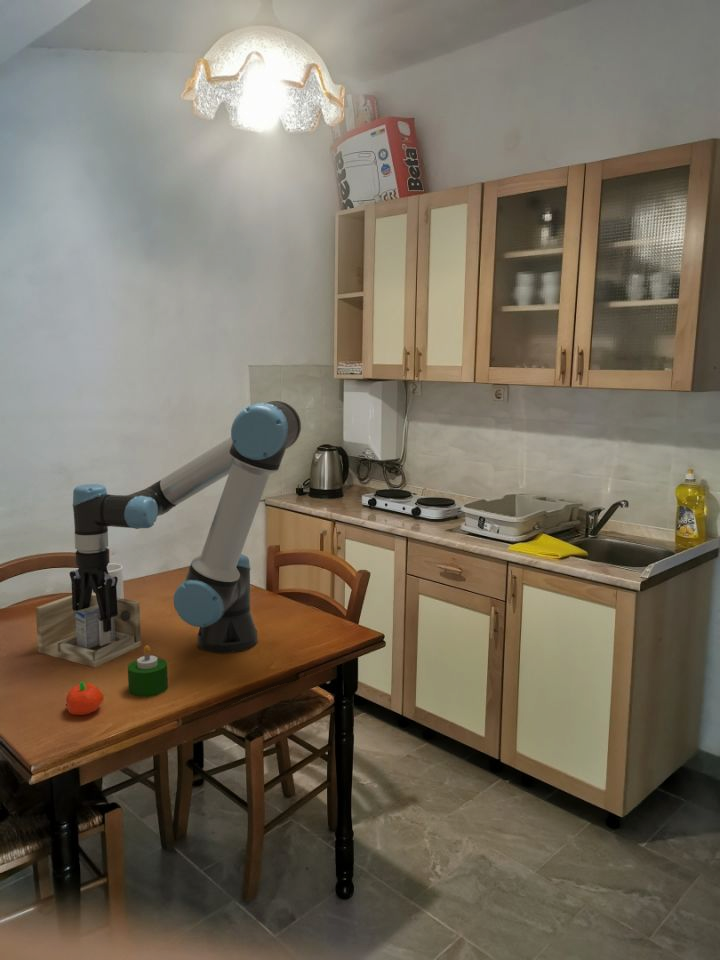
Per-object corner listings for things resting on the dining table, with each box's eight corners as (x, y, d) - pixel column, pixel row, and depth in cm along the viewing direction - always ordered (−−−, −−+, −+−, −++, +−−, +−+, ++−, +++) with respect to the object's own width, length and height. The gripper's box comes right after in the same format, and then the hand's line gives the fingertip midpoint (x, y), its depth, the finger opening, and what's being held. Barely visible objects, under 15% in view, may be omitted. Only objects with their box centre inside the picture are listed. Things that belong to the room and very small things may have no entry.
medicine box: (105, 636, 185) (103, 602, 184) (115, 640, 183) (114, 606, 181) (76, 645, 179) (74, 610, 178) (86, 649, 177) (84, 614, 175)
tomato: (74, 725, 147) (68, 696, 145) (63, 710, 153) (58, 682, 152) (110, 711, 151) (104, 683, 149) (98, 697, 157) (93, 669, 156)
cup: (114, 630, 196) (112, 572, 194) (86, 628, 198) (83, 570, 195) (130, 620, 204) (128, 564, 202) (103, 617, 206) (100, 562, 203)
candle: (175, 688, 163) (174, 645, 161) (142, 700, 157) (140, 656, 155) (154, 677, 168) (152, 635, 167) (121, 689, 162) (119, 645, 161)
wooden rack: (141, 646, 186) (139, 602, 184) (95, 667, 173) (93, 620, 171) (86, 632, 195) (83, 590, 193) (38, 652, 181) (35, 607, 180)
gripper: (132, 550, 176) (135, 643, 180) (77, 541, 185) (81, 629, 188) (108, 557, 170) (112, 653, 174) (52, 547, 178) (57, 639, 182)
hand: (96, 641), depth 181 cm, fingers closed on medicine box, 5 cm apart
